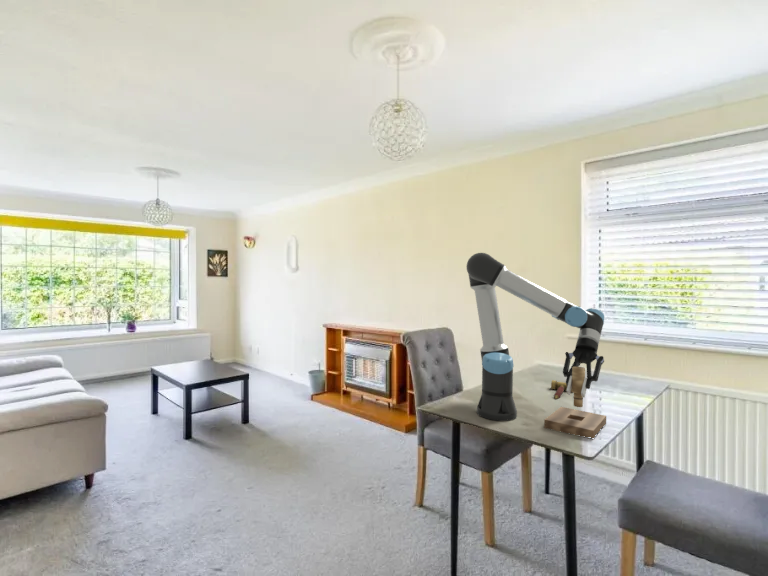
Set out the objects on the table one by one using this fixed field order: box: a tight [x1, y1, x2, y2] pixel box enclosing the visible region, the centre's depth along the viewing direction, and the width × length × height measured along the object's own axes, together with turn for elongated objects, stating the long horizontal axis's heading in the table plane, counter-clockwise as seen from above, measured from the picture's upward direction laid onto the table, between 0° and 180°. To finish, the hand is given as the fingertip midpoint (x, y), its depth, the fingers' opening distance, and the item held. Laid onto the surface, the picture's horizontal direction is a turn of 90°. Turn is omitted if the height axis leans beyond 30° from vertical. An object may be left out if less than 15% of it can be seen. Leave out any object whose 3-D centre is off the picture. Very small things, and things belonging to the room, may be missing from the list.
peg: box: [571, 366, 586, 408], centre depth 146 cm, size 4×4×14 cm
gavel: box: [550, 379, 573, 400], centre depth 188 cm, size 21×5×10 cm
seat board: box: [543, 406, 607, 439], centre depth 146 cm, size 16×20×3 cm
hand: (575, 393), depth 143 cm, fingers closed on peg, 4 cm apart
